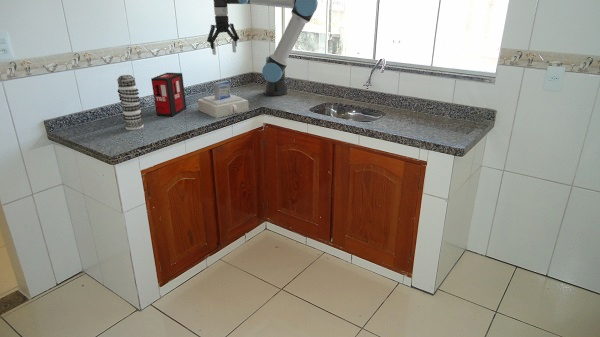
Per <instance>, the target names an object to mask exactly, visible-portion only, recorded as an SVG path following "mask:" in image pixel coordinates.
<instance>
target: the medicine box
mask: <svg viewBox="0 0 600 337" xmlns="http://www.w3.org/2000/svg"><path fill="white" fill-rule="evenodd" d="M212 87H213V96H214V98H215V99H219V100H221V99H225V98H228V97H230V94H231V90H230V88H231V87H230V81H228V80H221V81H217V82H213V83H212Z"/></svg>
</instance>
